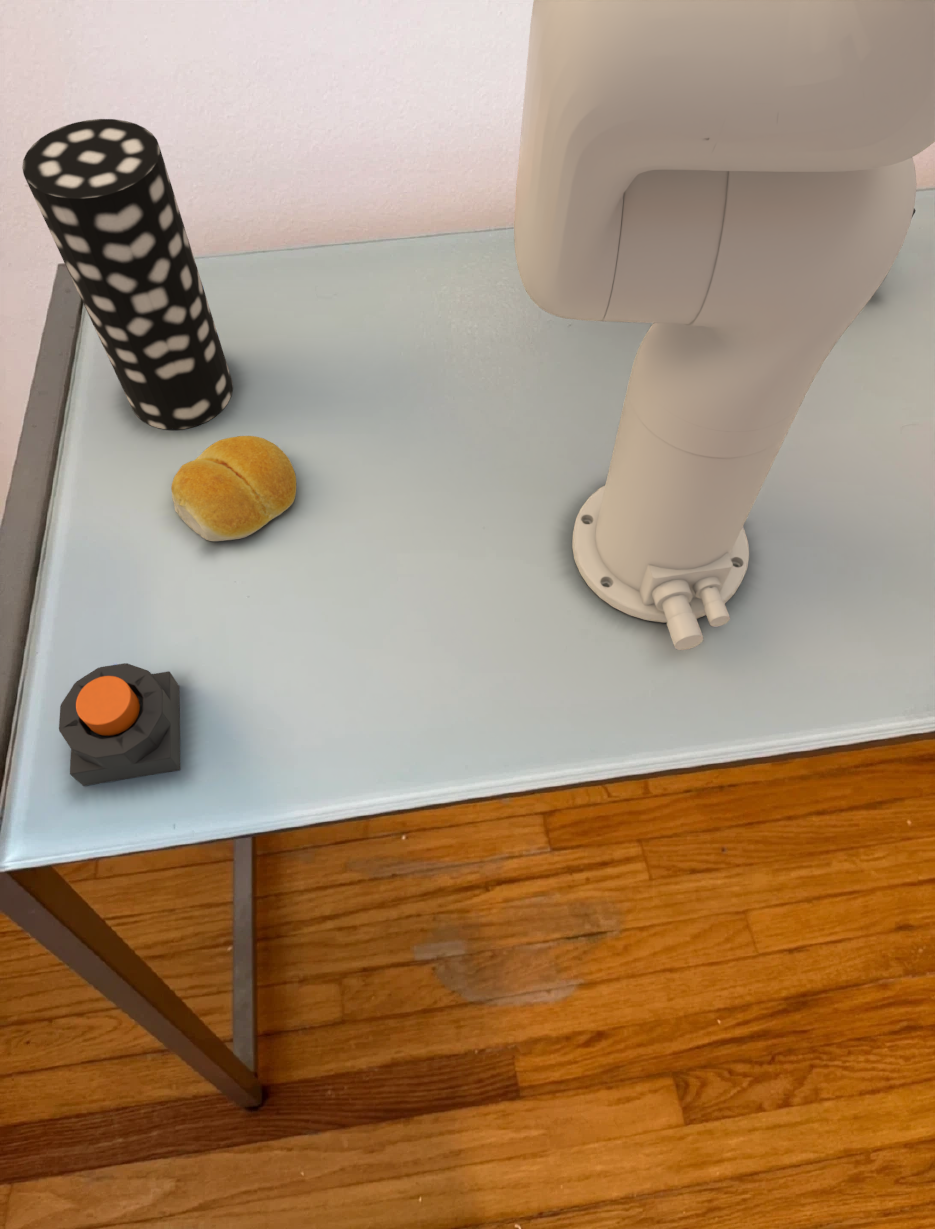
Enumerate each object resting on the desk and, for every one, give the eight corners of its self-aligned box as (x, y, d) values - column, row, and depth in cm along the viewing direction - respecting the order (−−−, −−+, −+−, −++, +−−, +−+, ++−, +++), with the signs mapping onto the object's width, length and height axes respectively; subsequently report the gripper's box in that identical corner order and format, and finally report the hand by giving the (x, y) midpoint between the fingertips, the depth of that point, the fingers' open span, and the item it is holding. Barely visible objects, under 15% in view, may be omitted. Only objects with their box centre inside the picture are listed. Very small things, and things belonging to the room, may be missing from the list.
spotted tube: (249, 368, 72) (183, 132, 55) (204, 440, 68) (117, 210, 51) (160, 346, 73) (67, 109, 56) (111, 416, 69) (-5, 183, 52)
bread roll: (319, 492, 66) (311, 457, 62) (226, 563, 62) (212, 530, 59) (250, 435, 68) (238, 398, 65) (157, 500, 65) (140, 465, 62)
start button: (139, 731, 52) (130, 719, 50) (85, 740, 51) (74, 728, 50) (140, 684, 53) (131, 671, 52) (87, 692, 53) (76, 679, 52)
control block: (181, 770, 54) (162, 747, 51) (82, 787, 54) (56, 764, 50) (180, 684, 57) (162, 657, 54) (86, 699, 57) (61, 672, 53)
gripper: (598, 43, 55) (567, 283, 71) (819, 24, 56) (741, 264, 72) (571, -14, 59) (548, 226, 75) (779, -31, 60) (713, 209, 76)
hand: (643, 244), depth 73 cm, fingers closed
